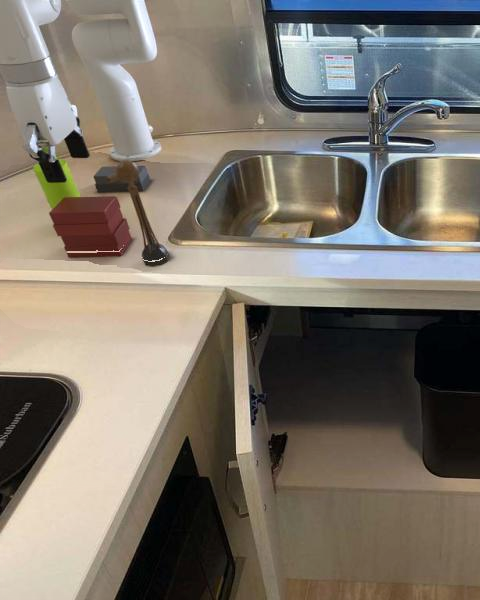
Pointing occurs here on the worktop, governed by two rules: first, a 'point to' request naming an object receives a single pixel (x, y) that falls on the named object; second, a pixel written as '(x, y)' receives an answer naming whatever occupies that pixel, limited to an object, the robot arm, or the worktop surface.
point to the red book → (85, 210)
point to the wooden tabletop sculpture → (140, 214)
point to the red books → (96, 237)
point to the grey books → (117, 185)
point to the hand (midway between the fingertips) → (69, 169)
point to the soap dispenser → (57, 190)
